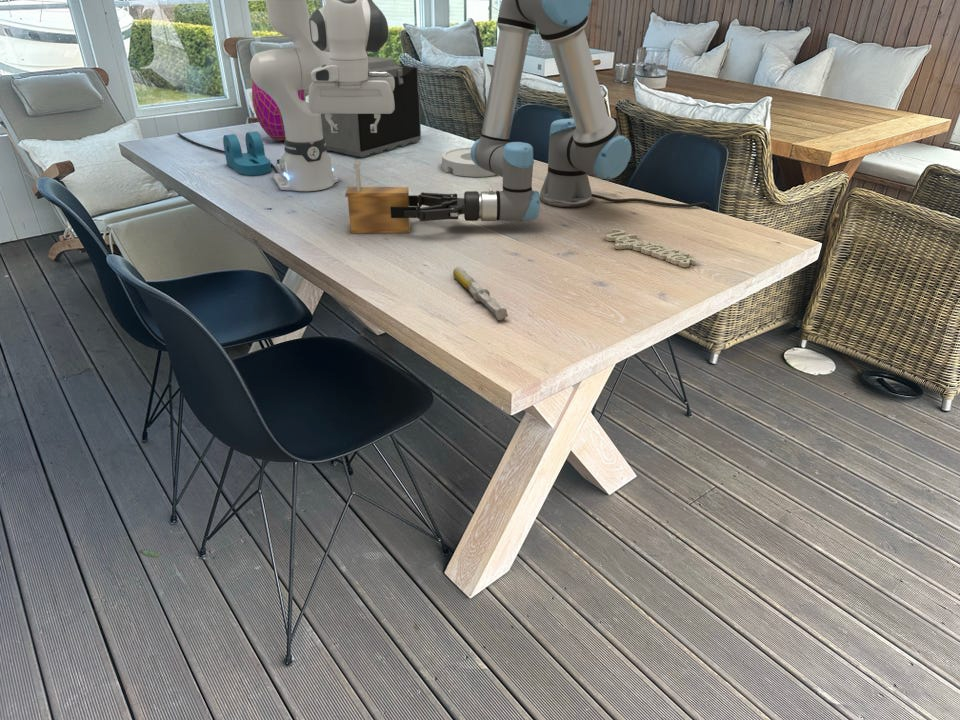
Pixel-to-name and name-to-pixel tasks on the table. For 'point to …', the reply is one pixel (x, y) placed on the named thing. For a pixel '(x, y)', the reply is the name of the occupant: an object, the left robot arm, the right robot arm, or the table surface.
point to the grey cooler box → (390, 127)
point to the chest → (377, 214)
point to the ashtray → (462, 163)
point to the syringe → (479, 293)
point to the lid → (373, 188)
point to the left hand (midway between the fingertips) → (354, 132)
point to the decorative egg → (269, 112)
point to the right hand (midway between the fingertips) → (392, 206)
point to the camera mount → (246, 154)
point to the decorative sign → (649, 248)
